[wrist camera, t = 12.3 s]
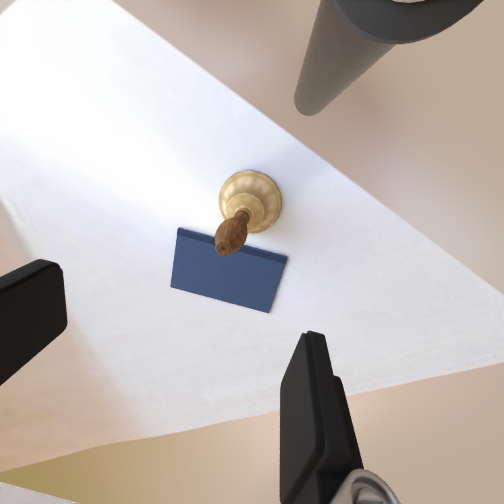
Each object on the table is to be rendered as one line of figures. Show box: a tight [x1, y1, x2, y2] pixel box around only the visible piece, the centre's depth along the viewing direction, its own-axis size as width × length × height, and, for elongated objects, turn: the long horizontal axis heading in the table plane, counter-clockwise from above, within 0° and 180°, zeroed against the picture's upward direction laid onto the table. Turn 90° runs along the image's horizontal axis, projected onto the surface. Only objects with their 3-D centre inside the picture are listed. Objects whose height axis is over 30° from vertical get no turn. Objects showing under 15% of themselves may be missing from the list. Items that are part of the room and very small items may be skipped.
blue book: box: [170, 228, 287, 313], centre depth 37 cm, size 10×16×1 cm, turn 76°
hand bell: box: [215, 170, 281, 256], centre depth 26 cm, size 8×8×16 cm
